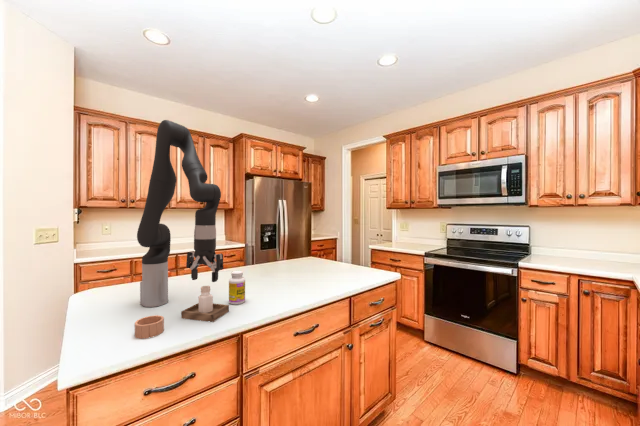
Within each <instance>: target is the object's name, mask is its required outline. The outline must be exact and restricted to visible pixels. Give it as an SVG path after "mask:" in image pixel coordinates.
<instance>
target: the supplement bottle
mask: <svg viewBox="0 0 640 426" xmlns="http://www.w3.org/2000/svg"><path fill="white" fill-rule="evenodd" d="M230 274H231V275H230V276H231V277H230V278H229V279H228V302H229V304H231V305H241V304H243V303H245V301H246V278H245V277H244V276H243V275H244V271H242V270H234V271H232V272H231V273H230Z"/></svg>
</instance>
